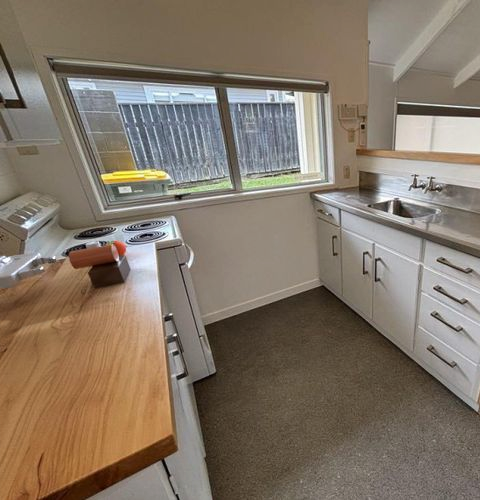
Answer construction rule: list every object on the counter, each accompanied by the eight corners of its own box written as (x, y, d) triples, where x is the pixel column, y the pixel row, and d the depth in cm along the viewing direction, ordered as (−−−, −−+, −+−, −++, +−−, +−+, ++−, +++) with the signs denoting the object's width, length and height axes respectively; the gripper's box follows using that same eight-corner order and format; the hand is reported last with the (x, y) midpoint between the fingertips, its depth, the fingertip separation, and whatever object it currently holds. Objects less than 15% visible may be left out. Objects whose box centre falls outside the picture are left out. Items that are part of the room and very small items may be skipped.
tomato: (122, 260, 113) (116, 243, 111) (102, 262, 112) (95, 246, 109) (131, 252, 121) (125, 237, 118) (113, 255, 119) (106, 239, 116)
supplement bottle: (90, 266, 109) (81, 245, 106) (94, 261, 113) (86, 242, 110) (105, 263, 111) (97, 243, 108) (109, 259, 115) (101, 239, 112)
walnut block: (94, 289, 92) (87, 272, 90) (104, 274, 102) (97, 259, 99) (124, 282, 95) (118, 266, 93) (130, 269, 105) (125, 254, 103)
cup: (73, 271, 90) (66, 254, 88) (80, 265, 95) (73, 249, 93) (116, 263, 95) (109, 246, 93) (120, 258, 100) (114, 242, 98)
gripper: (-43, 280, 73) (29, 267, 79) (0, 254, 90) (57, 245, 96) (-30, 301, 76) (39, 287, 82) (10, 272, 93) (65, 262, 98)
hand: (49, 264), depth 89 cm, fingers open, 8 cm apart
